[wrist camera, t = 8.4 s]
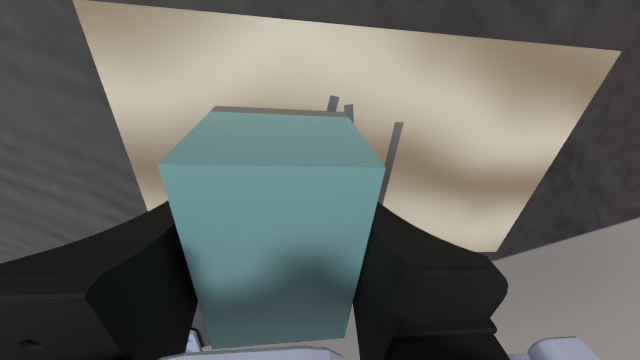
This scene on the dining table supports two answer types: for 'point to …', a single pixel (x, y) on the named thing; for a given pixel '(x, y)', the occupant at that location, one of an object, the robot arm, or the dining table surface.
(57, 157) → the dining table surface
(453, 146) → the birch board
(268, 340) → the block
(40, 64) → the dining table surface
